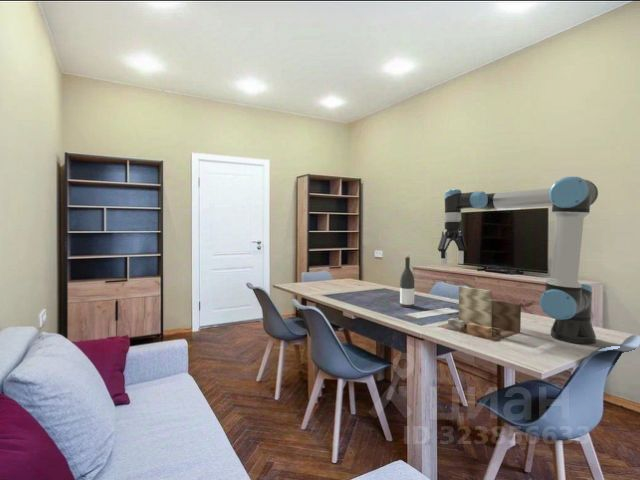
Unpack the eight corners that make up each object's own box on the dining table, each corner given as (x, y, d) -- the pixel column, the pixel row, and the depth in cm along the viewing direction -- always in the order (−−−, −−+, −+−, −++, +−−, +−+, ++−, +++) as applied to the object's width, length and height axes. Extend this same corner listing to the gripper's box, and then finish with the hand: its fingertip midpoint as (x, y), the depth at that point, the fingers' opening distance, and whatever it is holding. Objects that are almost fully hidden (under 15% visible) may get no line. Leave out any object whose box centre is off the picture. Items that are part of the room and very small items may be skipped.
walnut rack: (520, 336, 146) (520, 304, 145) (494, 345, 133) (495, 310, 133) (463, 322, 167) (463, 294, 166) (436, 329, 154) (437, 299, 154)
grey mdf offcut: (464, 330, 148) (464, 321, 148) (460, 331, 147) (460, 322, 147) (451, 327, 153) (451, 318, 153) (447, 328, 152) (447, 319, 151)
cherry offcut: (491, 337, 139) (492, 327, 139) (487, 338, 137) (488, 328, 137) (470, 331, 146) (471, 322, 146) (466, 333, 144) (467, 323, 144)
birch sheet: (491, 334, 143) (492, 290, 143) (489, 334, 142) (490, 291, 142) (460, 326, 155) (461, 286, 154) (458, 326, 154) (459, 286, 153)
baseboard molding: (401, 315, 182) (418, 321, 172) (401, 310, 182) (418, 315, 171) (443, 309, 197) (460, 314, 187) (443, 304, 197) (460, 308, 187)
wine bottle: (399, 306, 200) (400, 255, 199) (400, 304, 208) (400, 254, 207) (413, 307, 198) (414, 255, 197) (414, 305, 206) (414, 254, 205)
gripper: (460, 222, 180) (460, 262, 180) (430, 221, 166) (430, 265, 166) (474, 221, 174) (474, 263, 174) (443, 220, 159) (443, 266, 160)
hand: (452, 264), depth 170 cm, fingers open, 13 cm apart
